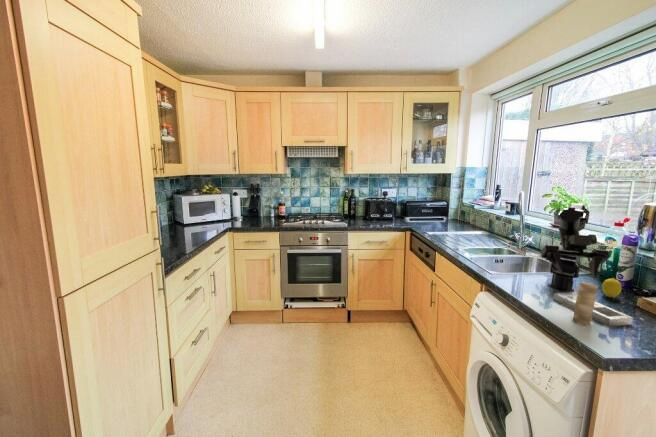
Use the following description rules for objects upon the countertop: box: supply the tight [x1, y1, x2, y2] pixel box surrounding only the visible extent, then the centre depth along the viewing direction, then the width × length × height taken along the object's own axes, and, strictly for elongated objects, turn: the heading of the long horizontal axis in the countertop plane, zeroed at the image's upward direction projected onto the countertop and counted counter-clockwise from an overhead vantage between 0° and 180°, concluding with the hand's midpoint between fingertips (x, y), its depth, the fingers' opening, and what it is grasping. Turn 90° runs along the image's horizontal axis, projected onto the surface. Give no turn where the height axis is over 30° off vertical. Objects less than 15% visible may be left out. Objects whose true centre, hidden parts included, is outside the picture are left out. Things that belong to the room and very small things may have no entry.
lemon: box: [601, 277, 623, 298], centre depth 116 cm, size 6×6×8 cm
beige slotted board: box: [552, 291, 634, 327], centre depth 105 cm, size 20×9×2 cm, turn 10°
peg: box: [572, 281, 598, 327], centre depth 96 cm, size 4×4×13 cm
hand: (578, 275), depth 102 cm, fingers open, 9 cm apart
